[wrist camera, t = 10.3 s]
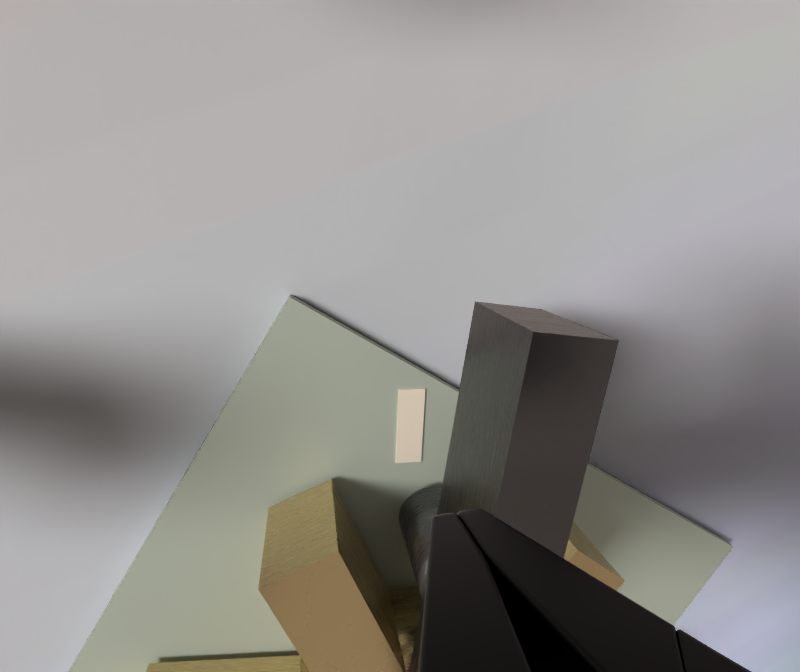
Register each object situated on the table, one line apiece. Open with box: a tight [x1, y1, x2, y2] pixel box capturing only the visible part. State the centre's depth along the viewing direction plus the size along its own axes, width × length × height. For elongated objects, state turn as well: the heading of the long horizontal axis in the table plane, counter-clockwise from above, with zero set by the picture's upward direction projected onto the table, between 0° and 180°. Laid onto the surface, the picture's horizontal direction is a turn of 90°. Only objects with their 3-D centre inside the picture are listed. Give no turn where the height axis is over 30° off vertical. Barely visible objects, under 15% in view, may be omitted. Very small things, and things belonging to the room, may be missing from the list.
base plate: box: [69, 295, 733, 672], centre depth 21 cm, size 24×24×1 cm
